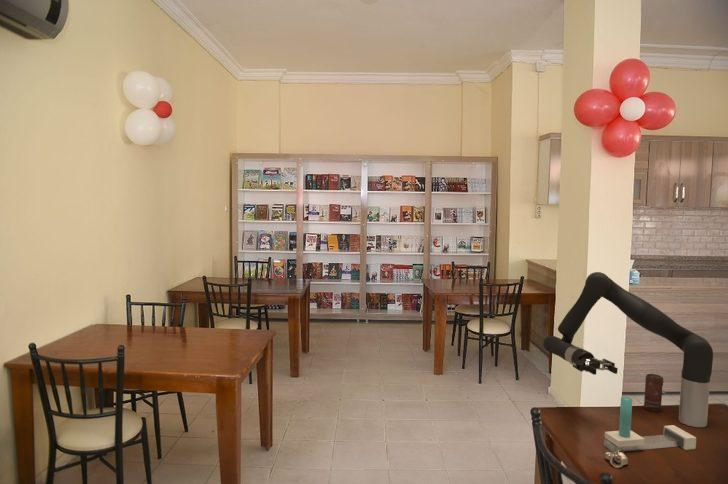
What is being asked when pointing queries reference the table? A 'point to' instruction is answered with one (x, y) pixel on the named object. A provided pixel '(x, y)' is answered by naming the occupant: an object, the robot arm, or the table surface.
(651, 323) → the robot arm
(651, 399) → the can
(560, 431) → the table surface
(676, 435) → the end stop
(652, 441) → the rail
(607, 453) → the silver metal fitting
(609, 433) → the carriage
